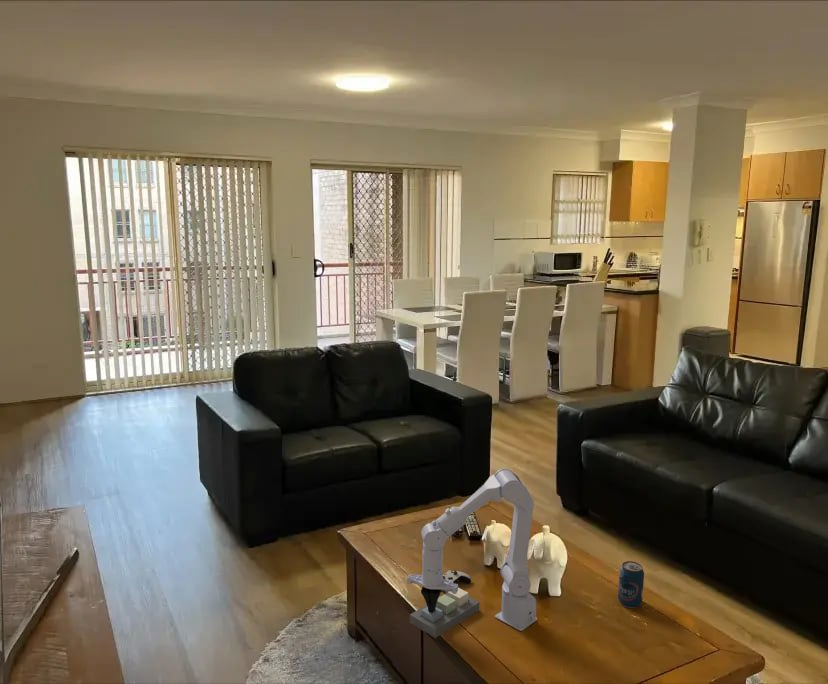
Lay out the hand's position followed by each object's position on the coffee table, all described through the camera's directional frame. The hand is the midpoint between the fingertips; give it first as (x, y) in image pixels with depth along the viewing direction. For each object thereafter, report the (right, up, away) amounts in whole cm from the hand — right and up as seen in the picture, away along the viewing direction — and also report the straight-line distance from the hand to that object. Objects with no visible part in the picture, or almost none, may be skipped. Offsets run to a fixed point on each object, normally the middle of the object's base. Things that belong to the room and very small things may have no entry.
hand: (432, 610), depth 190 cm
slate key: (0, -3, +1) cm, 3 cm away
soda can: (+60, -3, +12) cm, 61 cm away
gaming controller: (+7, -1, +21) cm, 22 cm away
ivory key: (+8, -1, +8) cm, 12 cm away
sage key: (+4, -2, +4) cm, 6 cm away
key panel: (+4, -4, +5) cm, 7 cm away
